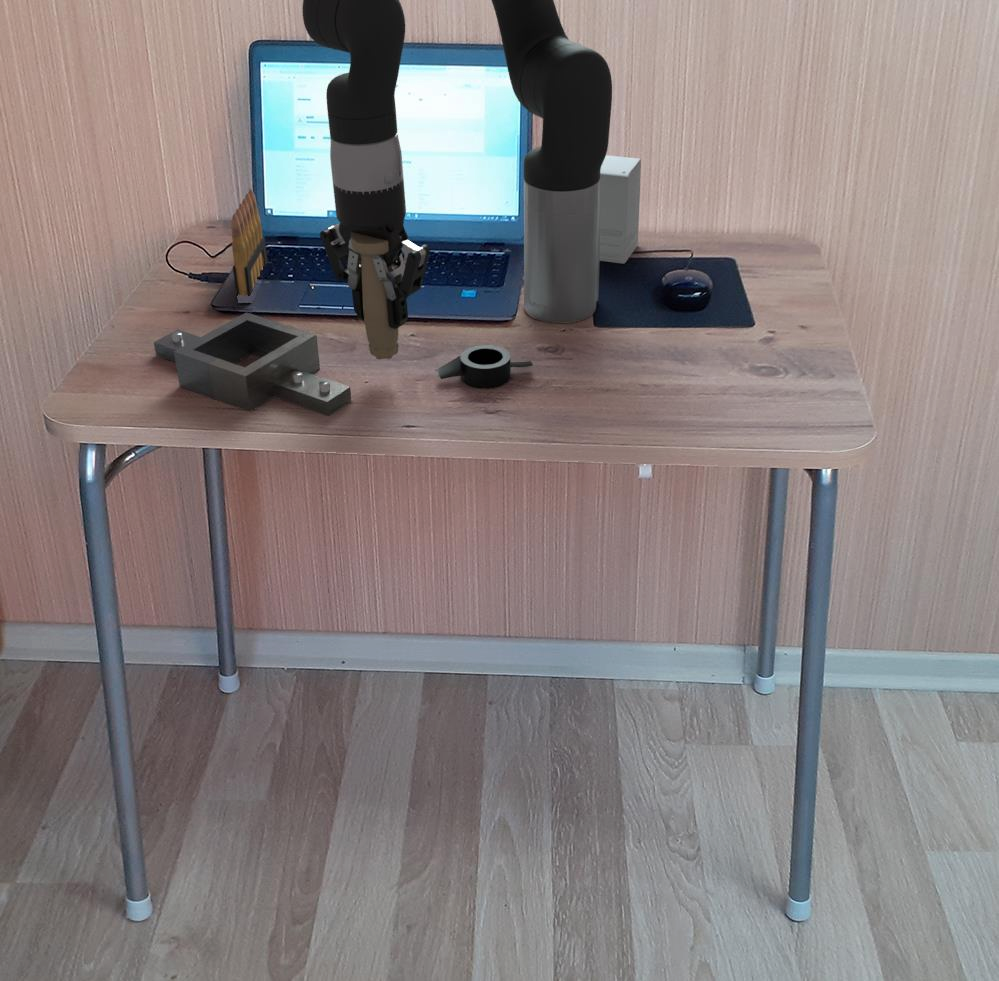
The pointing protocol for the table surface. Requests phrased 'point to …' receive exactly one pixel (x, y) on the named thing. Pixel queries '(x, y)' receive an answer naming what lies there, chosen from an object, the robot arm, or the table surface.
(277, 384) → the bracket
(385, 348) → the handle
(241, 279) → the ammunition clip
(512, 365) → the dark grey winged ring
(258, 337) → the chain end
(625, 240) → the supplement box
